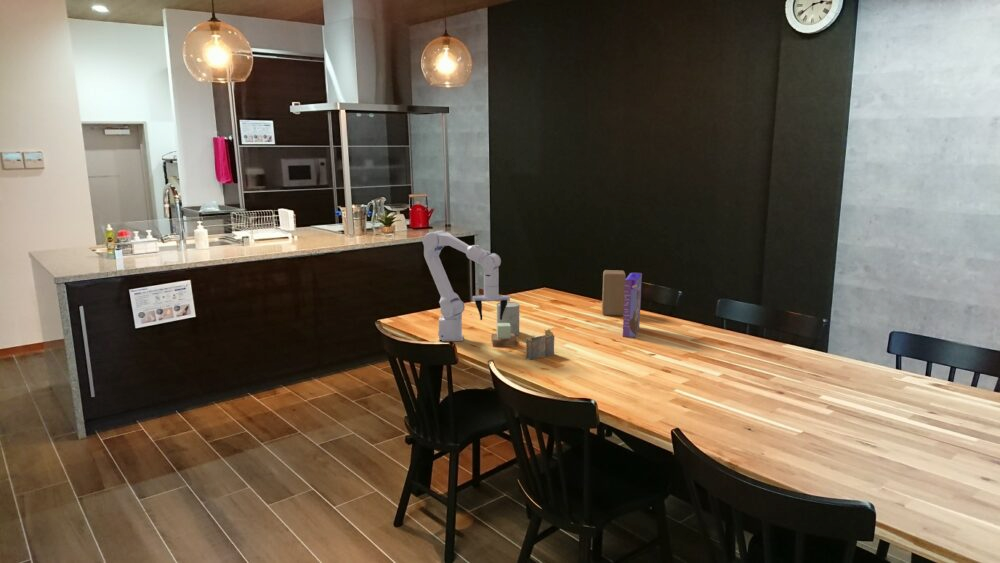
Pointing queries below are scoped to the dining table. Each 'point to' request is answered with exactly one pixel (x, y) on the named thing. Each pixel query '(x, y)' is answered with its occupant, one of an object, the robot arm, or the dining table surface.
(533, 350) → the ruin model on sheet
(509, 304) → the grey cylinder
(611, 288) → the wooden block
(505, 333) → the sage cube
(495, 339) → the walnut slab
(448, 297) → the robot arm
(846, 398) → the dining table surface
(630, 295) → the cereal box
